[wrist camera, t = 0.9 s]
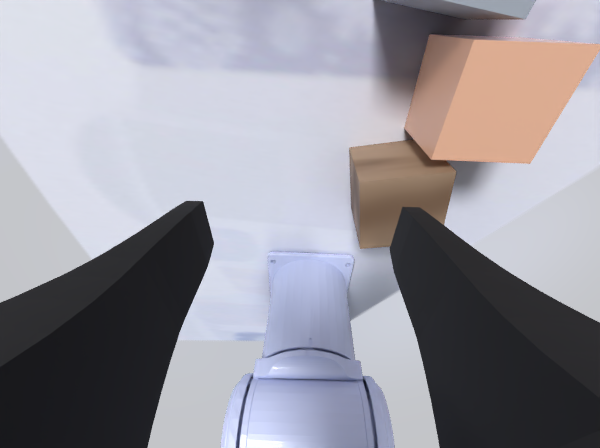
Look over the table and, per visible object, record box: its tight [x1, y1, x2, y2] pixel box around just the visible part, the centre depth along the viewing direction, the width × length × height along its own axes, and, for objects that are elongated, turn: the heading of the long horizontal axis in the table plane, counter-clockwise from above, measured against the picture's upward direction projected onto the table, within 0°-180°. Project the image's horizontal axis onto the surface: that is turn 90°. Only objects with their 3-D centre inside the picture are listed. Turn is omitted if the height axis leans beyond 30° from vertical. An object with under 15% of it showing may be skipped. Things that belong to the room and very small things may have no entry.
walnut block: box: [349, 139, 456, 249], centre depth 17 cm, size 5×5×5 cm
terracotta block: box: [404, 34, 600, 164], centre depth 14 cm, size 5×5×5 cm
